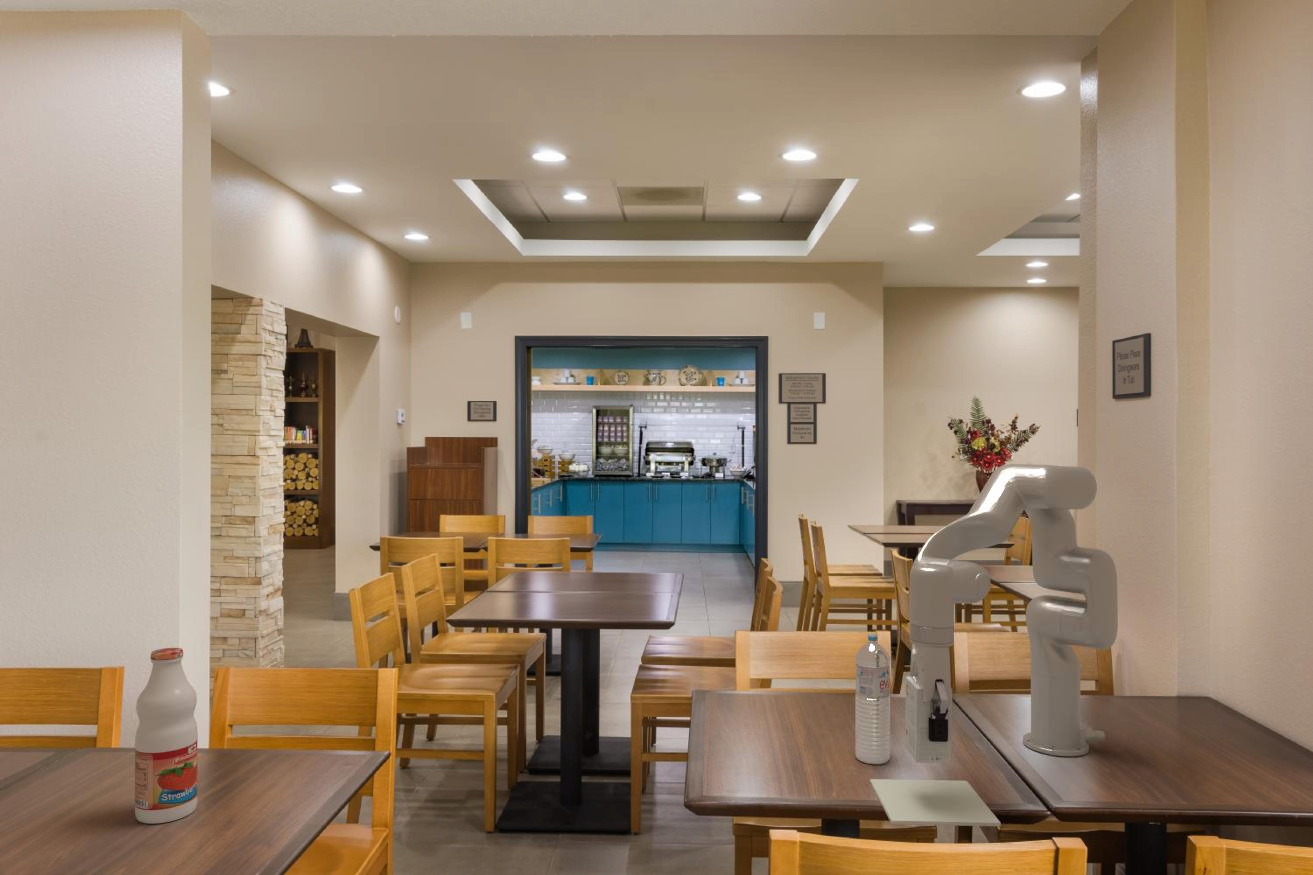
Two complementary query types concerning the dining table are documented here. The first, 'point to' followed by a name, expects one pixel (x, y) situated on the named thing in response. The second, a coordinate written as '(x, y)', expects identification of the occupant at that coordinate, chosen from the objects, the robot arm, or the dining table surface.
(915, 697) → the small box
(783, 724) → the dining table surface
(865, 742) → the water bottle
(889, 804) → the mat
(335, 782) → the dining table surface
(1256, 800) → the dining table surface
